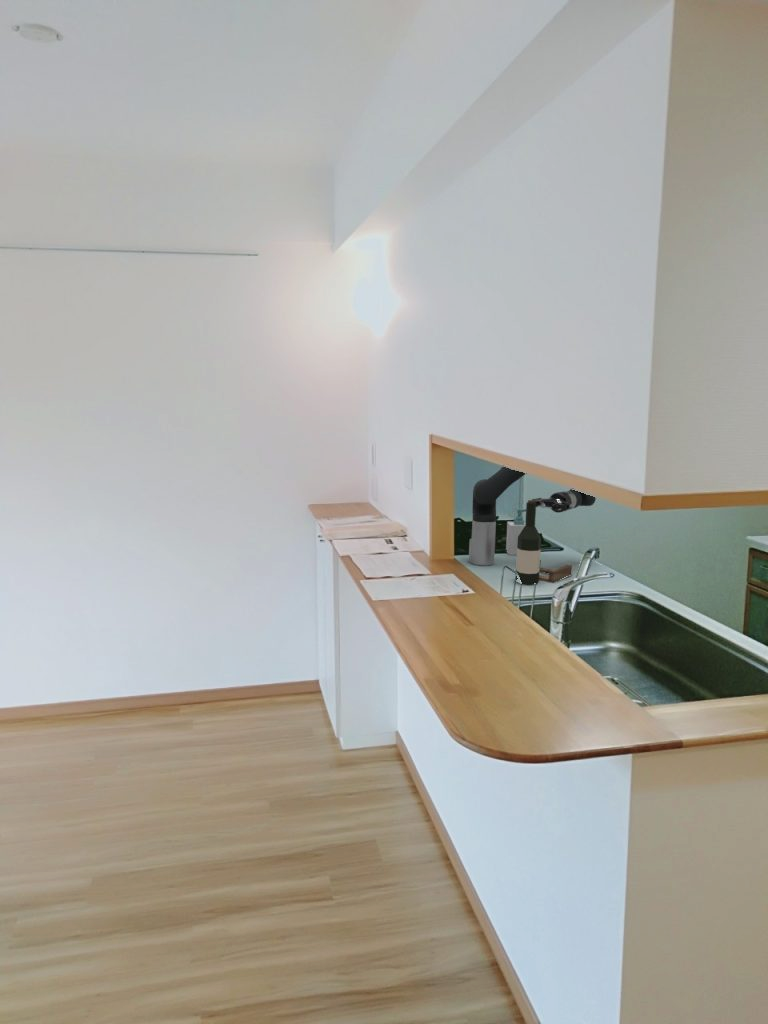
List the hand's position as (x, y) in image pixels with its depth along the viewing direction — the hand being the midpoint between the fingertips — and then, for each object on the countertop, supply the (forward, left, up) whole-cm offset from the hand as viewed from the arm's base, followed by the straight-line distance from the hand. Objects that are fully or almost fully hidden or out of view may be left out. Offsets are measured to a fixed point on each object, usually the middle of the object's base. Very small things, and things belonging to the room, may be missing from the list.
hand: (542, 506), depth 289 cm
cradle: (0, +5, -27) cm, 28 cm away
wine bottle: (0, -9, -27) cm, 28 cm away
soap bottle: (-27, +31, -27) cm, 50 cm away
